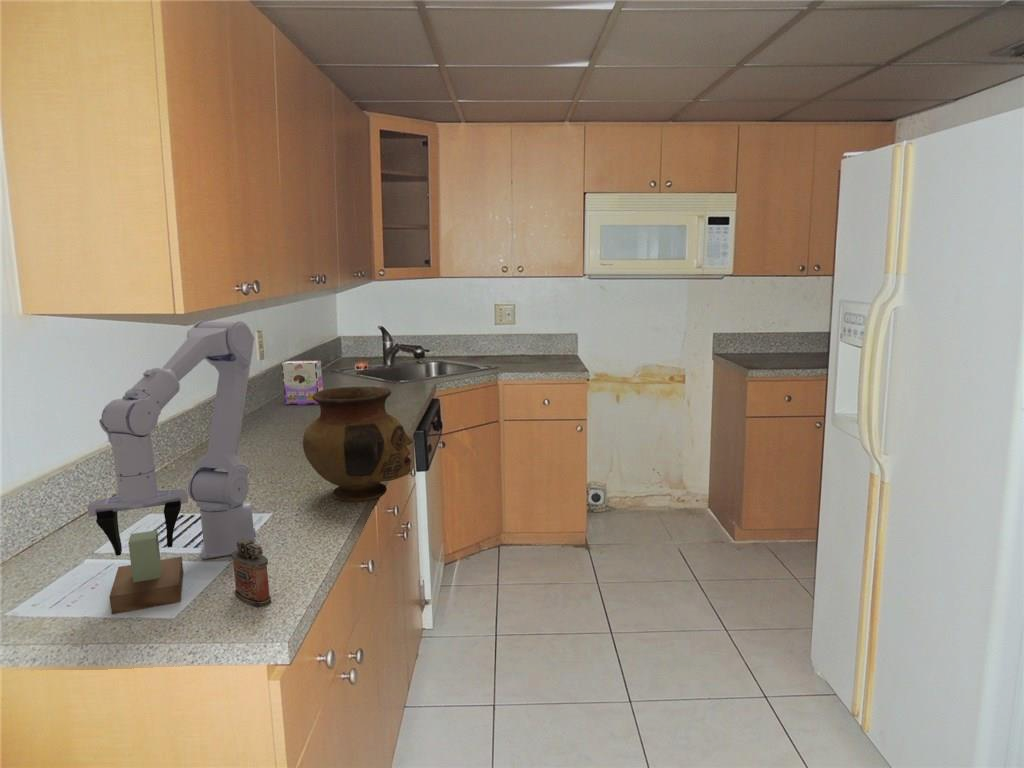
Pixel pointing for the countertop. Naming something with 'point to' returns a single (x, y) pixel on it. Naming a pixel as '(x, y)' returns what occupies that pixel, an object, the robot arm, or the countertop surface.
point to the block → (145, 556)
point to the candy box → (301, 381)
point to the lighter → (251, 574)
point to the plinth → (147, 588)
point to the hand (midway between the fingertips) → (144, 549)
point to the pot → (356, 442)
